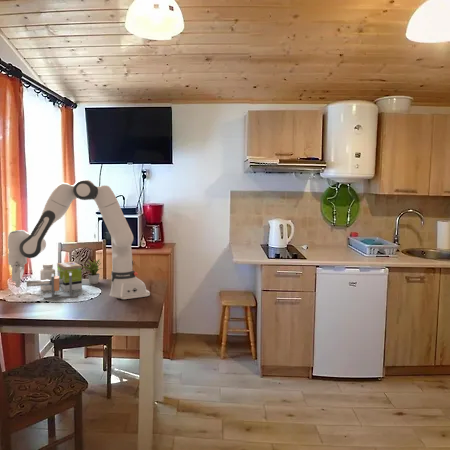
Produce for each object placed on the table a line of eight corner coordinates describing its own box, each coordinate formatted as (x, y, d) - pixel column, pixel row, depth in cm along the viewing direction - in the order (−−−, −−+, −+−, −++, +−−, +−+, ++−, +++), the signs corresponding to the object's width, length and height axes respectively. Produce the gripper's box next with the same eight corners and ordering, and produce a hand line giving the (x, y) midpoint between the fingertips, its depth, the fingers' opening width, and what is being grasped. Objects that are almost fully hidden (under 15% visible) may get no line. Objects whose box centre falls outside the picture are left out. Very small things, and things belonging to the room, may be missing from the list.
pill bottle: (56, 290, 236) (56, 264, 234) (42, 291, 231) (41, 266, 230) (53, 287, 242) (53, 262, 241) (39, 288, 238) (38, 263, 236)
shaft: (63, 283, 224) (62, 278, 223) (62, 284, 221) (62, 279, 221) (27, 286, 217) (27, 280, 217) (26, 287, 214) (26, 281, 214)
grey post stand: (77, 292, 230) (76, 272, 229) (77, 297, 221) (77, 275, 220) (44, 294, 224) (44, 273, 223) (43, 299, 215) (43, 277, 214)
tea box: (57, 286, 244) (56, 262, 242) (74, 284, 250) (73, 261, 249) (65, 291, 232) (64, 266, 231) (82, 289, 238) (82, 264, 237)
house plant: (89, 280, 261) (88, 255, 260) (109, 281, 259) (109, 256, 257) (77, 285, 247) (77, 259, 246) (98, 286, 245) (98, 260, 243)
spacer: (59, 287, 225) (59, 275, 225) (59, 290, 219) (59, 278, 218) (54, 288, 224) (54, 276, 224) (54, 291, 218) (53, 278, 217)
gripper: (22, 263, 205) (22, 290, 206) (26, 257, 224) (26, 281, 225) (8, 264, 202) (9, 291, 204) (13, 257, 221) (14, 282, 223)
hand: (18, 286), depth 214 cm, fingers open, 3 cm apart
